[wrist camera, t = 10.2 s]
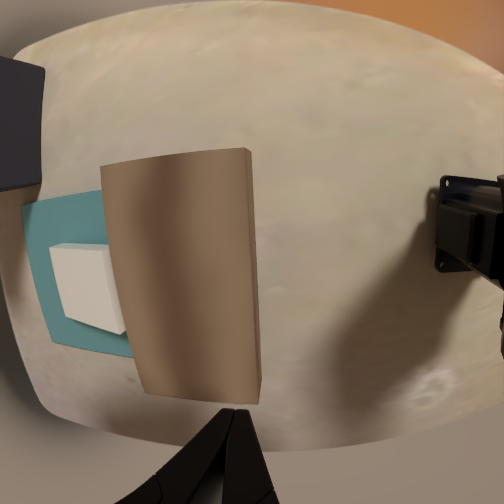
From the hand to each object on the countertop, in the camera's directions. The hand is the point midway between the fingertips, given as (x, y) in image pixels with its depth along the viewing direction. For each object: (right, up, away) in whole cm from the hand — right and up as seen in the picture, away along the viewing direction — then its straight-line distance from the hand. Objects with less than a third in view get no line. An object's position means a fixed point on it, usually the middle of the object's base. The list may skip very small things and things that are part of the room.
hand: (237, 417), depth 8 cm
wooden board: (-4, +3, +12) cm, 13 cm away
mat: (-14, +3, +13) cm, 20 cm away
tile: (-12, +3, +11) cm, 16 cm away
